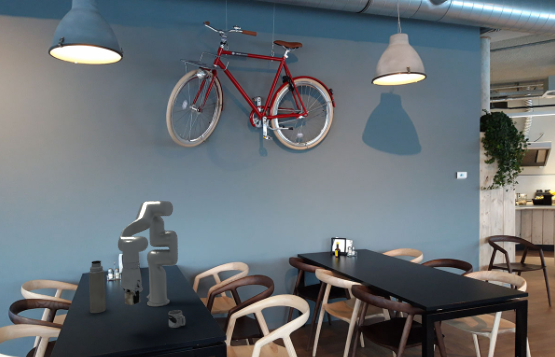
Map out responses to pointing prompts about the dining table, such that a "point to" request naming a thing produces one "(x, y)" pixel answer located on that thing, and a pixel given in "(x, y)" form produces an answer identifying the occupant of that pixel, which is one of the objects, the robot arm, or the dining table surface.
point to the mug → (176, 319)
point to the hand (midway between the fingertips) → (132, 301)
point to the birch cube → (130, 298)
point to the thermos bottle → (97, 287)
